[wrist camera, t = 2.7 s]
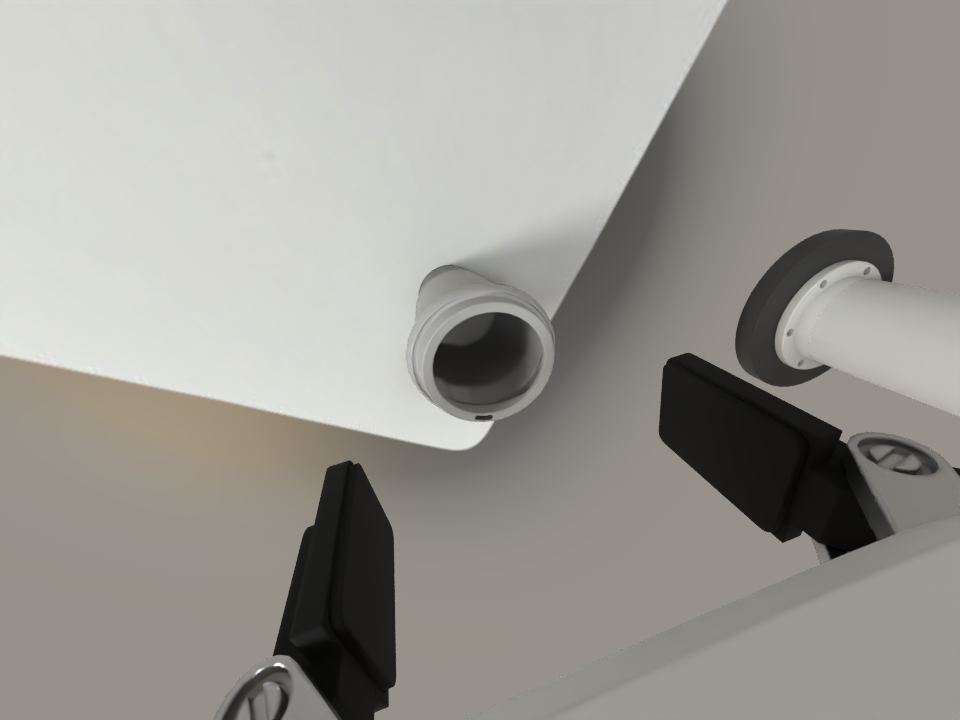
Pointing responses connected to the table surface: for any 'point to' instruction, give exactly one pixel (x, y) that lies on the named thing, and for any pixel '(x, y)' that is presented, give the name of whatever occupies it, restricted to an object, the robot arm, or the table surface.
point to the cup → (478, 346)
